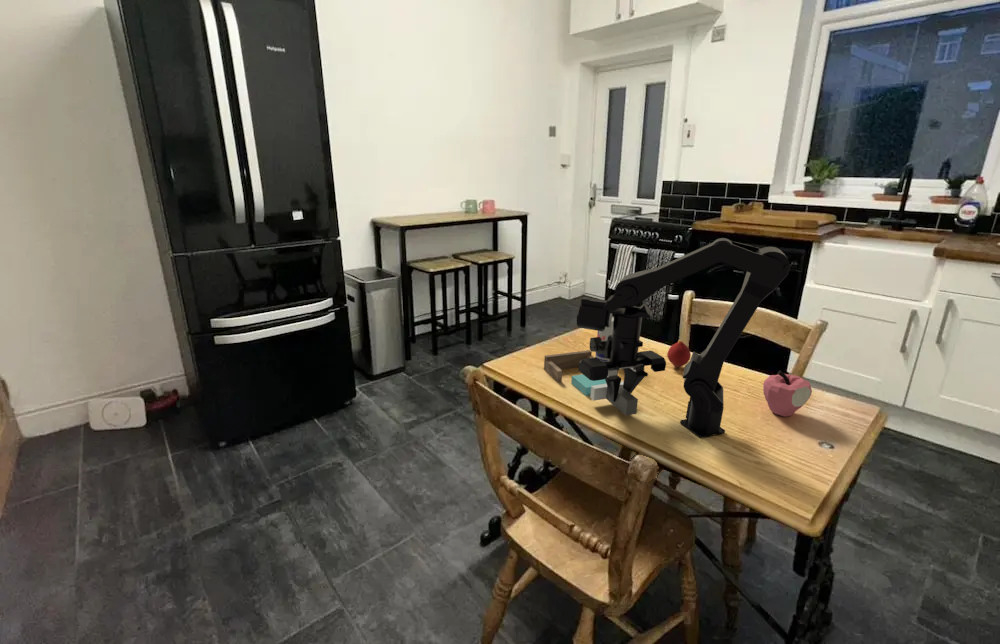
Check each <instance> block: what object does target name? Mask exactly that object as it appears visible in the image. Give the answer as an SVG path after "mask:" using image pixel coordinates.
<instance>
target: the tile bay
mask: <svg viewBox="0 0 1000 644" xmlns="http://www.w3.org/2000/svg"><path fill="white" fill-rule="evenodd" d="M592 353H593V352H591V350H590V349H588V350H580V351H572V352H565V353H555V354H549V355H548V354H546V355H544V360H543V363H544V364H543V370H544V371H545V372H546V373H547V374H548V375H549V376H550V377H551V378H552V379H553V380H554V381H555V382H556V383H561V382H562V381H563V379H562V378H563V370H564V369H565V370H567V369H573V368H579V363H580V361H581V360H582V359H587V358H595V356H593V355H592Z"/></svg>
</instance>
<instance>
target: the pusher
mask: <svg viewBox="0 0 1000 644" xmlns="http://www.w3.org/2000/svg"><path fill="white" fill-rule="evenodd" d="M623 384H624V380H621V383H620V387H619V391H618V395H617V398H616V401H615V402H613V401H612V400H611V398H610V394H609V390H608V387H607V384H601V385H594V386H591V395H589V396H590V397H589V398H590V399H592V401H600V400H607V401H608V402H609V403H610V404H612V405H613V406H614V407H615V408H616V409H617V410H618V411H620V413H622V414H623V415H625V416H630V415H631V416H633V415H636V414H637V410H638V402H639V399H638V398H637V397H636V396H635V395H633V394H632V393H629V392H628V391H627V390H625V389H624V388H623Z"/></svg>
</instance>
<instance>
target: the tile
mask: <svg viewBox="0 0 1000 644" xmlns="http://www.w3.org/2000/svg"><path fill="white" fill-rule="evenodd" d="M570 382H571V383H570V384H571V385H572V386H573V387H575V388H576V389H577V390H578V391H579V392H581V394H583V395H584V396H585V397H587V396H591V386H594V385H601V384H606V381H605V379H603V380H596V381H592V380H589V379H588V378H587V377H586V376H585V375H583V374H582V373H581V374H576V375H572V376H571V381H570Z"/></svg>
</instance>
